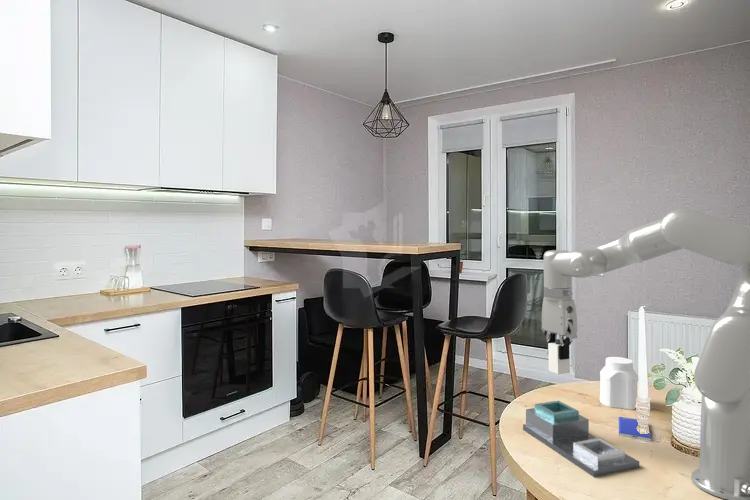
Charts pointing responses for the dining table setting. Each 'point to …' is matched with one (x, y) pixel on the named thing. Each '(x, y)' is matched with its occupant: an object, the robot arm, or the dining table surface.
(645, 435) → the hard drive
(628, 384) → the jar
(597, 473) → the grey desk organizer
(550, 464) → the dining table surface
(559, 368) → the plug
